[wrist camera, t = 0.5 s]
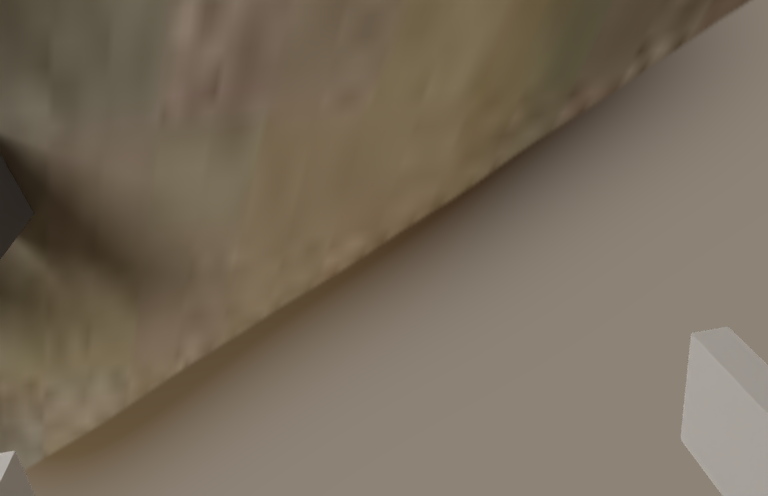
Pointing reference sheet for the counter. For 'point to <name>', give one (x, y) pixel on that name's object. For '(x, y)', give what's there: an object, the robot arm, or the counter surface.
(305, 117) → the counter surface
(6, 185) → the domino
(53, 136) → the counter surface
